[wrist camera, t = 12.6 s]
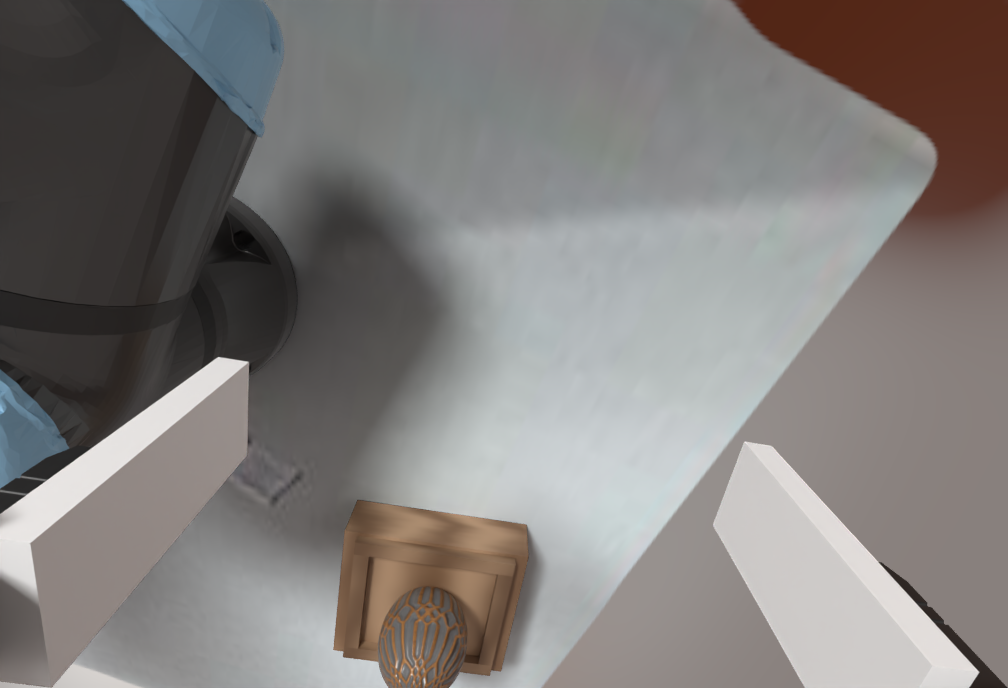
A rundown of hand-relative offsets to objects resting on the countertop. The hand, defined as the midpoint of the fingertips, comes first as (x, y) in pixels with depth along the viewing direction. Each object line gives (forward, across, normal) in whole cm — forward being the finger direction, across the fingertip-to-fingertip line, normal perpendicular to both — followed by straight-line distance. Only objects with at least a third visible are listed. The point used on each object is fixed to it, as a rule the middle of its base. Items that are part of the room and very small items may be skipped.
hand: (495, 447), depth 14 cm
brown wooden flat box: (+27, -1, -30) cm, 40 cm away
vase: (+23, -1, -29) cm, 37 cm away
